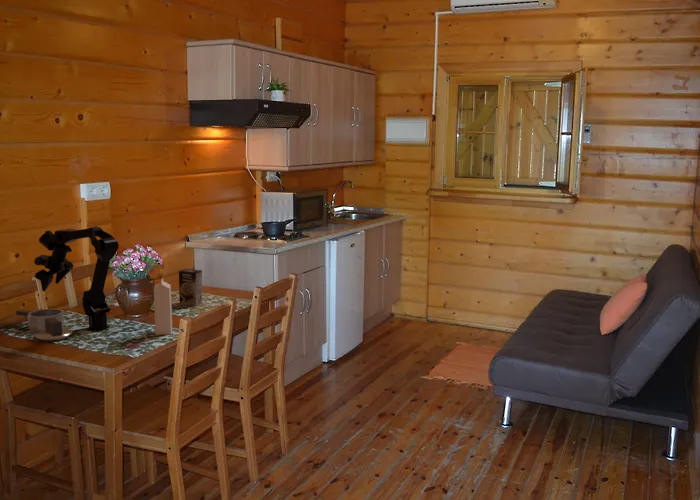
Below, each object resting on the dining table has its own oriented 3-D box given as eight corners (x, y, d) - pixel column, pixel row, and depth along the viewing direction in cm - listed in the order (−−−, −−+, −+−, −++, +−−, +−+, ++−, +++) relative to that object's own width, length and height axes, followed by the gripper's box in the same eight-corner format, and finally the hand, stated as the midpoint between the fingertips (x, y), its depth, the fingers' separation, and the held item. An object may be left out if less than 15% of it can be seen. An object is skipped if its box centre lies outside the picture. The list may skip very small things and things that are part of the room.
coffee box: (178, 304, 316) (177, 270, 314) (186, 301, 322) (185, 268, 320) (196, 306, 314) (195, 272, 311) (203, 303, 320) (202, 269, 317)
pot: (70, 324, 282) (69, 310, 281) (47, 332, 270) (46, 318, 269) (31, 319, 288) (30, 305, 287) (6, 327, 276) (5, 313, 275)
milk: (172, 330, 276) (171, 277, 272) (170, 334, 270) (169, 280, 266) (156, 330, 275) (155, 277, 271) (155, 334, 269) (153, 280, 265)
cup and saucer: (77, 338, 264) (76, 321, 262) (41, 344, 255) (40, 327, 254) (65, 330, 273) (64, 314, 272) (31, 336, 265) (30, 319, 264)
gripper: (55, 241, 291) (46, 271, 297) (27, 254, 274) (19, 286, 280) (77, 252, 291) (69, 282, 296) (51, 266, 273) (42, 298, 279)
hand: (50, 287), depth 288 cm, fingers open, 9 cm apart
